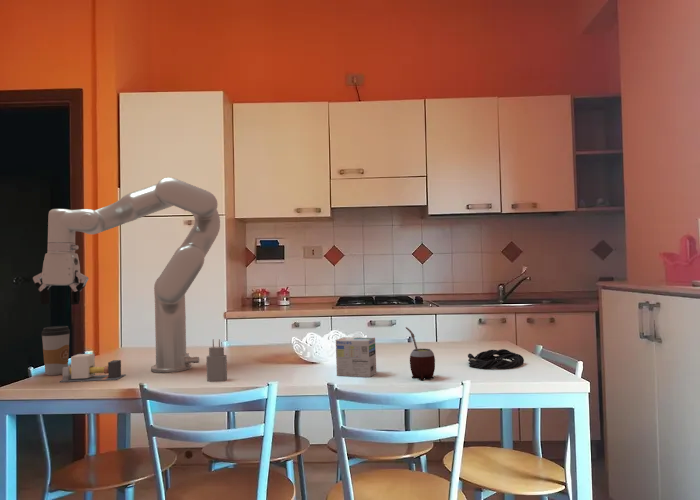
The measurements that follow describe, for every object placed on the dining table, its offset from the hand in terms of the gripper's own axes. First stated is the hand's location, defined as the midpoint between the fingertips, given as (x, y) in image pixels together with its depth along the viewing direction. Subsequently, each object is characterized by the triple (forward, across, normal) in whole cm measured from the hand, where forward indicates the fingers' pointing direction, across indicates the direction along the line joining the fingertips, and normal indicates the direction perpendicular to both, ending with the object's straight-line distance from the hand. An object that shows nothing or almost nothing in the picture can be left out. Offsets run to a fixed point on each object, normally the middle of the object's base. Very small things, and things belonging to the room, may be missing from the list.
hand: (60, 304), depth 166 cm
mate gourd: (+20, -111, +6) cm, 113 cm away
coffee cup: (+23, +6, -9) cm, 26 cm away
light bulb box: (+20, -92, -1) cm, 94 cm away
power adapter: (+22, -51, +4) cm, 56 cm away
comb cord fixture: (+23, -11, 0) cm, 25 cm away
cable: (+19, -135, -12) cm, 137 cm away
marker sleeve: (+23, -8, 0) cm, 24 cm away
